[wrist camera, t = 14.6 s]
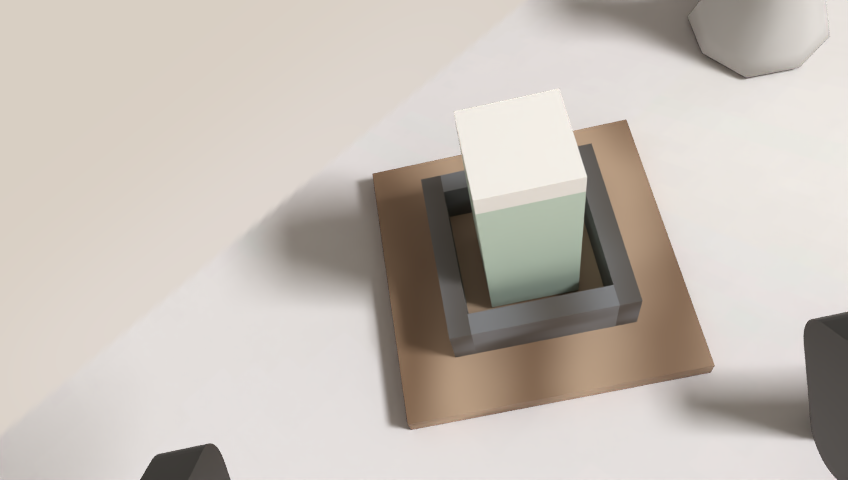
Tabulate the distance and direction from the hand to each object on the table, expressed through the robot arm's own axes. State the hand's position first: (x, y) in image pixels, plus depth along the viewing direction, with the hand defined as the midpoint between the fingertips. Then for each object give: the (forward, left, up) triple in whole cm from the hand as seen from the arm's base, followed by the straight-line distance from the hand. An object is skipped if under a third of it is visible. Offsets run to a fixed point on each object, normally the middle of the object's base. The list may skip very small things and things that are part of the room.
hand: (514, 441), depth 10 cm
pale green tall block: (+2, +14, -23) cm, 27 cm away
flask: (+19, +26, -24) cm, 40 cm away
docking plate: (+3, +14, -24) cm, 28 cm away
